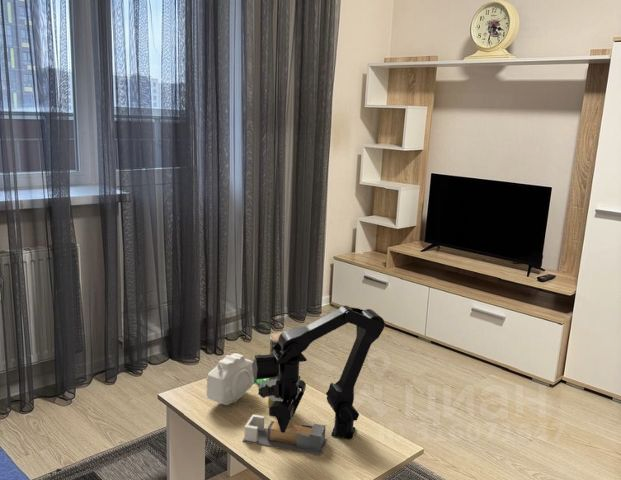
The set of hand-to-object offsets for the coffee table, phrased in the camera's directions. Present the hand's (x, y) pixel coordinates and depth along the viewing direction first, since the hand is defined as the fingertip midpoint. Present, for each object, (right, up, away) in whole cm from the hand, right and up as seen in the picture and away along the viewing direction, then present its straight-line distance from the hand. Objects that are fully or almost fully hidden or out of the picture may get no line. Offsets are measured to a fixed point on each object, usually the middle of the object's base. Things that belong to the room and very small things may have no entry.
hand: (287, 424), depth 172 cm
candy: (-10, +2, +34) cm, 36 cm away
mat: (-1, -5, +1) cm, 6 cm away
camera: (-19, 0, +23) cm, 30 cm away
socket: (-10, -4, +3) cm, 11 cm away
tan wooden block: (+2, -6, +1) cm, 6 cm away
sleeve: (+7, -6, 0) cm, 9 cm away
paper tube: (-4, -1, +19) cm, 20 cm away
